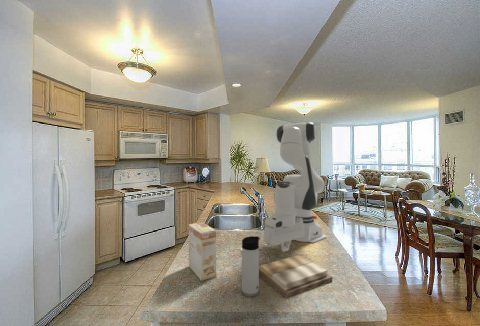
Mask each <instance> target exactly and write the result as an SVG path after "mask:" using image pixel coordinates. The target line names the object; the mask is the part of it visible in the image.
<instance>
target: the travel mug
mask: <svg viewBox="0 0 480 326" xmlns="http://www.w3.org/2000/svg"><path fill="white" fill-rule="evenodd" d="M260 239H261V238H260V237H259V236H253V235H252V236H246V237H243V238H242V240H241V248H242V251H241V293H242V294H243V295H244V296H246V297H252V298H253V297H256V296H257V295H258V294H259V291H260V288H259V287H260V286H259V285H260V276H259V268H260V246H259V244H260V242H259V241H260Z"/></svg>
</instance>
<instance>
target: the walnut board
mask: <svg viewBox="0 0 480 326" xmlns="http://www.w3.org/2000/svg"><path fill="white" fill-rule="evenodd" d="M260 277H261V279H263V281H265V282H266V283H268V284H269V285H270V286H271V287H272V288H273V289H274V290H276V291H277V292H278V293H280V294H281V295H282V296H283V297H284V298H286V299H287V298H288V297H291V296H294V295H296V294H300V293H302V292H303V293H304V292H305V291H309V290H311V289H314V288H316V287H319V286H321V285H324V284H326V283H329V282H332V281H333V278H334V277H333V276H332V275H330V274H328V273H327V276H324V277H321V278H318V279H316V280H313V281H310V282H307V283H304V284H301V285H299V286H296V287H293V288H290V289H287V290H284V289H283V288H281V287H280V286H279V285H278V284H276V283H275V282H274V281H273V280H272V279H270V278H269V277H268V276H267V275H265V274H264V273H263V272H262V271H261V270H260V267H259V278H260Z"/></svg>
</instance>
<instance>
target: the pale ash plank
mask: <svg viewBox="0 0 480 326" xmlns="http://www.w3.org/2000/svg"><path fill="white" fill-rule="evenodd" d="M311 262H312V263H309V264H305V265H302V266H299V267H295V268H292V269H289V270H285V271H282V272H279V273H275V274H272V280H273V281H274V282H275V283H276V284H278V285H279V286H280V287H281V288H283V289H284V290H287V289H290V288H293V287H296V286H299V285H301V284H304V283H307V282H310V281H313V280H316V279H318V278H321V277H324V276H327V274H328V270H327V269H326V268H324V267H322V266H320V265H318V264H316V263H314V262H313V261H311Z"/></svg>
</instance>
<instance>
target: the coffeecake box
mask: <svg viewBox="0 0 480 326" xmlns="http://www.w3.org/2000/svg"><path fill="white" fill-rule="evenodd" d="M188 267H189V268H190V270H192V272H193V274H195V276H197V279H199V280H200V281H201V282H203V281H207V280H209V279H213V278H216V277H217V230H216V229H215V228H213V227H211V226H209V225H207V224H206V223H204V222H195V223H189V224H188Z"/></svg>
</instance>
